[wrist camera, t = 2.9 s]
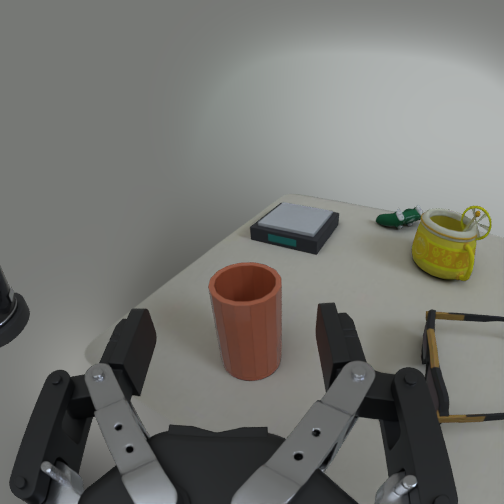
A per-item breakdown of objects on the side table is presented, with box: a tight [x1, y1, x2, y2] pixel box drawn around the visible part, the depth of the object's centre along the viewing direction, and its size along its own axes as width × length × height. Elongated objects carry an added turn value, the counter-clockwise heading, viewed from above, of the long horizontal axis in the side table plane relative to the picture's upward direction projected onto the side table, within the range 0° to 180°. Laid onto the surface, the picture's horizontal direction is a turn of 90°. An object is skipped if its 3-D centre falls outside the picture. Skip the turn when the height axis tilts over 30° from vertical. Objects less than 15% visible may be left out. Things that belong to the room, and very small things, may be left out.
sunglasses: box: [421, 309, 504, 424], centre depth 24 cm, size 14×15×5 cm
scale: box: [250, 202, 339, 254], centre depth 55 cm, size 12×12×3 cm
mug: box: [412, 206, 491, 281], centre depth 40 cm, size 13×11×12 cm
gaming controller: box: [376, 205, 423, 229], centre depth 56 cm, size 9×4×6 cm
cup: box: [208, 262, 282, 381], centre depth 30 cm, size 6×6×10 cm
